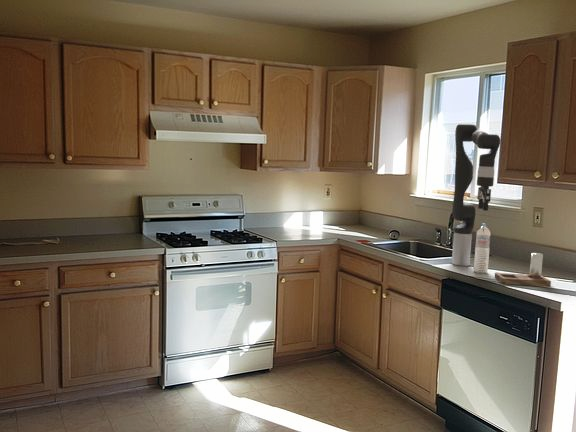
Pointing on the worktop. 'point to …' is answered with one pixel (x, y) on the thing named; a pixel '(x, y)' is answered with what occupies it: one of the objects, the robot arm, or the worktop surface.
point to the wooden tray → (521, 279)
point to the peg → (536, 265)
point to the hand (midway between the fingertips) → (482, 209)
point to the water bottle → (482, 250)
